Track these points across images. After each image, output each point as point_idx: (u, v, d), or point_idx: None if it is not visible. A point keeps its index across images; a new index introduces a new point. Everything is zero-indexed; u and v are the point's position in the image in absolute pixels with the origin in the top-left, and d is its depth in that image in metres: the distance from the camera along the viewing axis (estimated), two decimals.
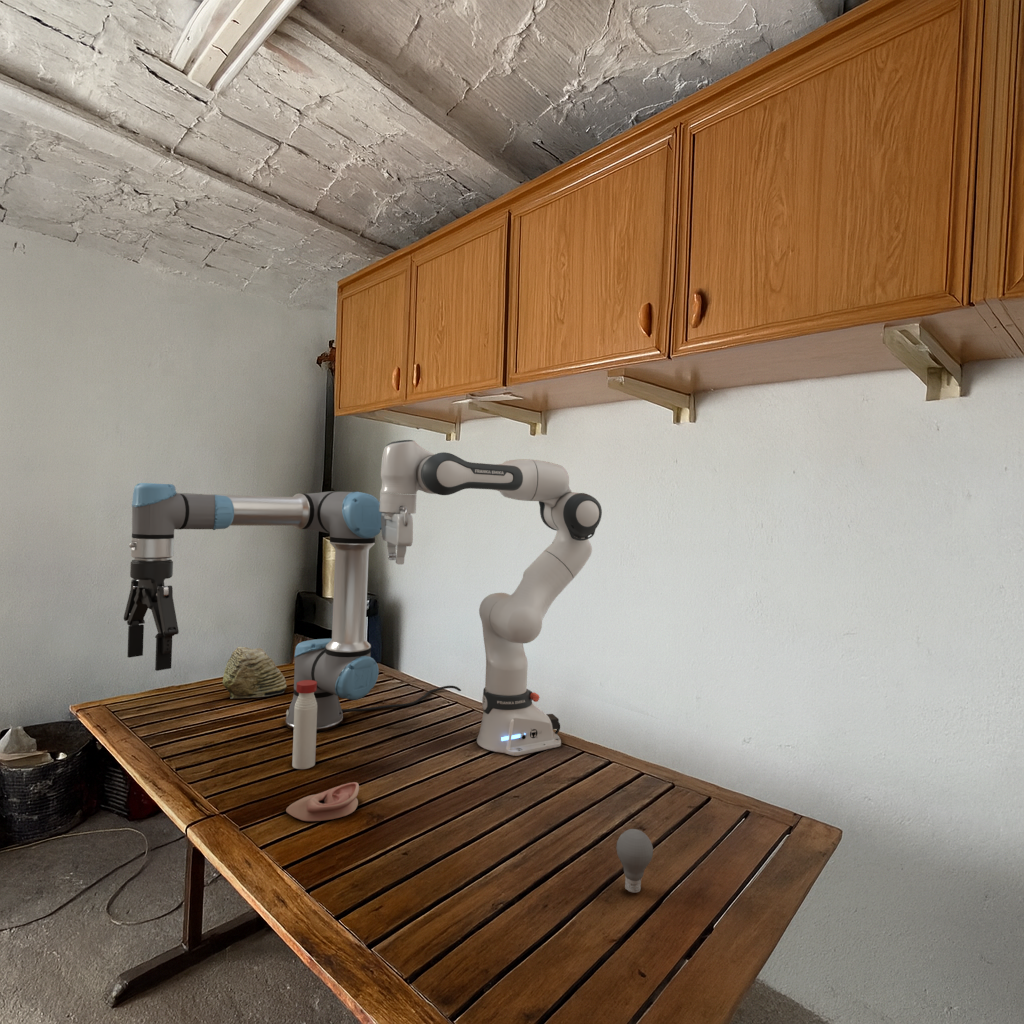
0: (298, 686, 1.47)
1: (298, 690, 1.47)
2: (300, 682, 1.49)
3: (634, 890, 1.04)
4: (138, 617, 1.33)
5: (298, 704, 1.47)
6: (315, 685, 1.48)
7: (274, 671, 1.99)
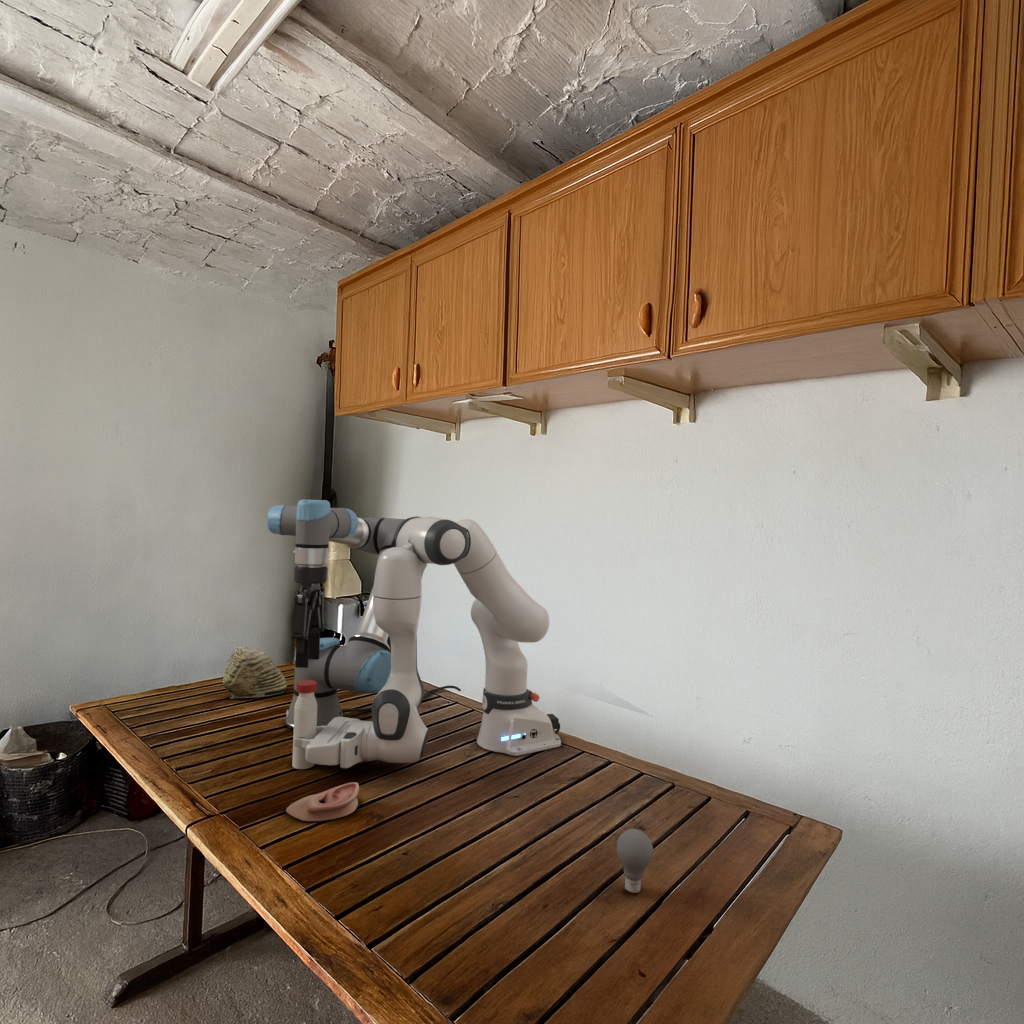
0: (298, 686, 1.47)
1: (298, 690, 1.47)
2: (300, 682, 1.49)
3: (634, 890, 1.04)
4: (314, 622, 1.52)
5: (298, 704, 1.47)
6: (315, 685, 1.48)
7: (274, 671, 1.99)
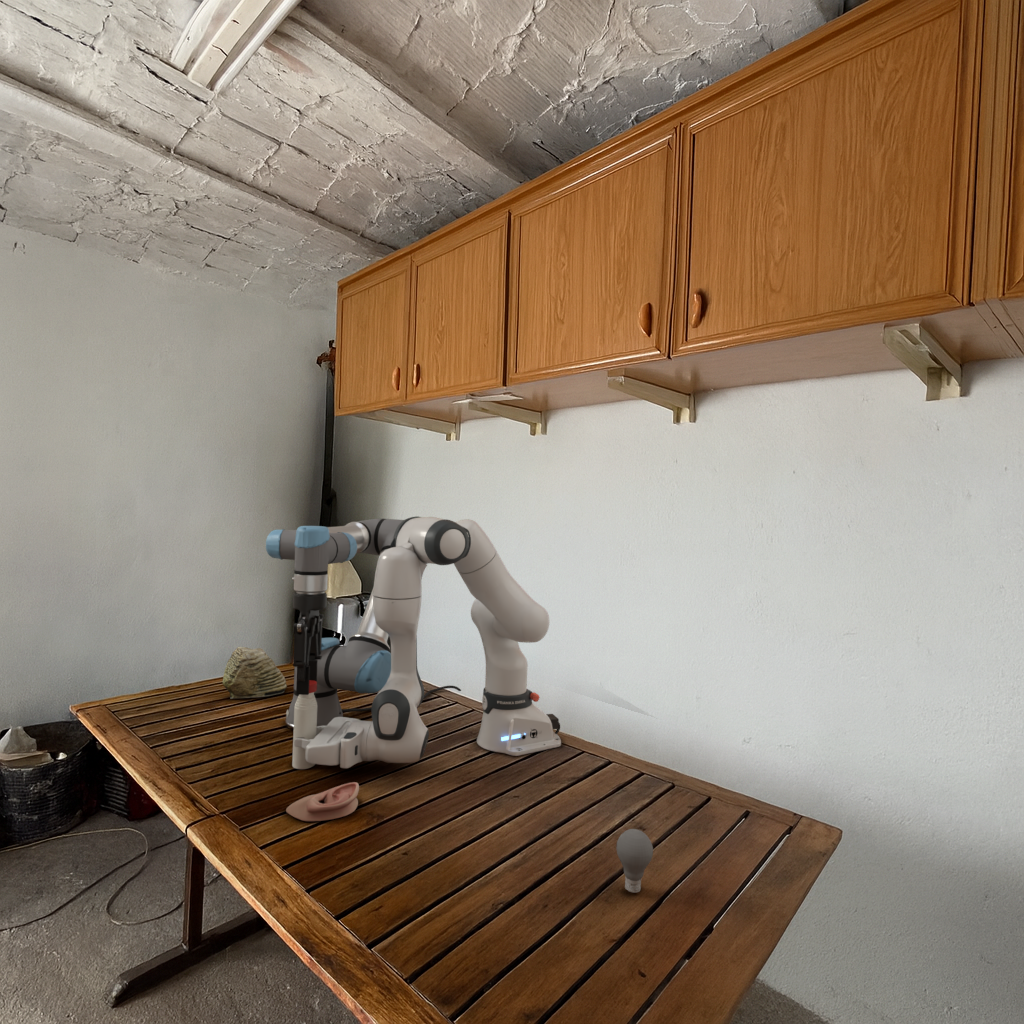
0: None
1: None
2: None
3: (634, 890, 1.04)
4: (311, 650, 1.51)
5: (298, 704, 1.47)
6: (315, 685, 1.48)
7: (274, 671, 1.99)
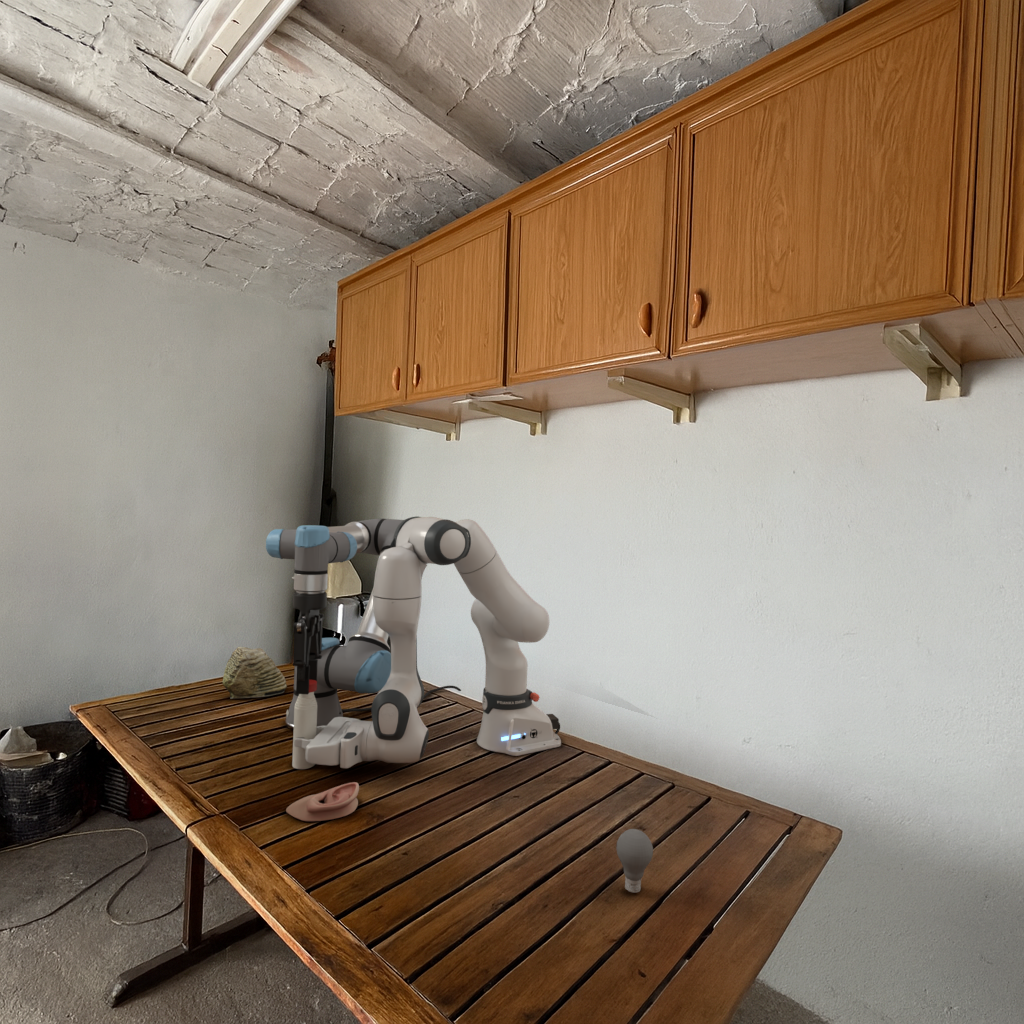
0: (315, 684, 1.48)
1: (315, 688, 1.48)
2: None
3: (634, 890, 1.04)
4: (312, 649, 1.51)
5: (298, 704, 1.47)
6: None
7: (274, 671, 1.99)
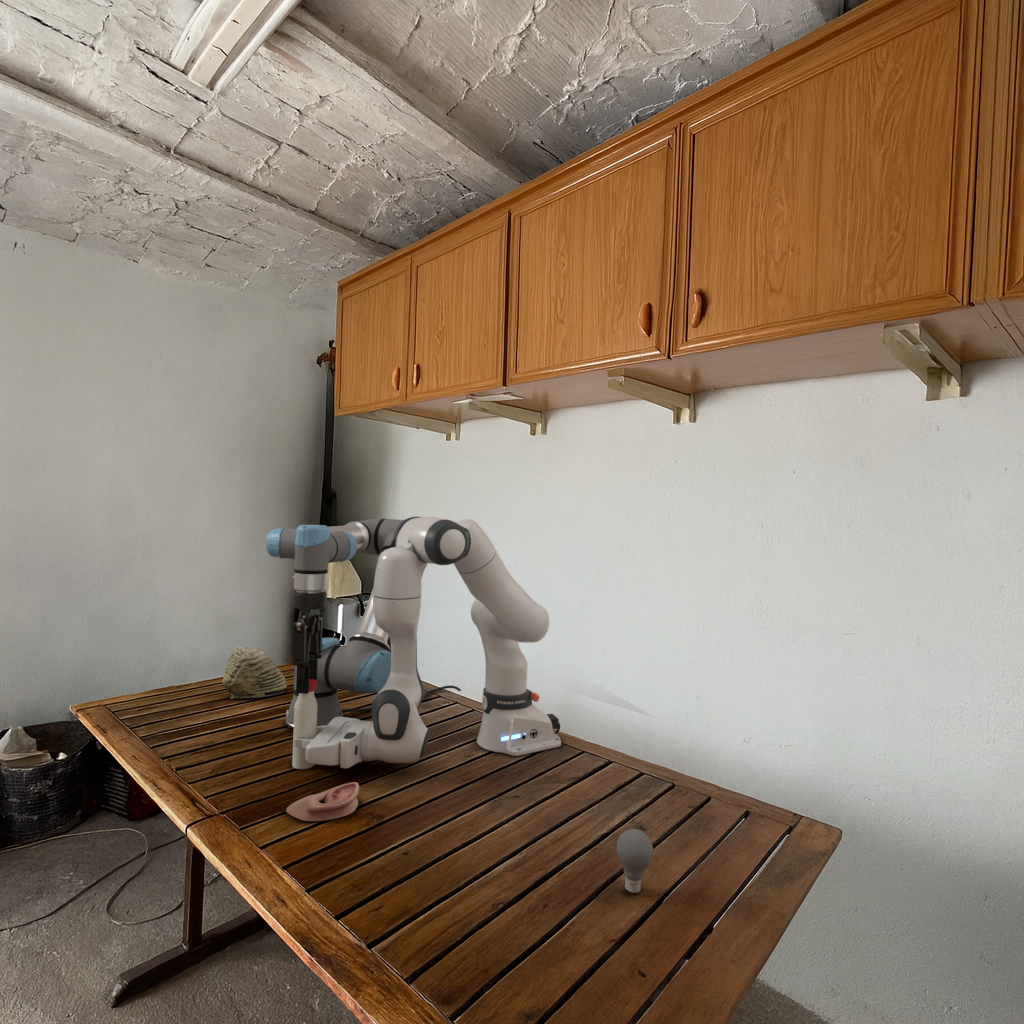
0: None
1: None
2: (312, 680, 1.50)
3: (634, 890, 1.04)
4: (312, 649, 1.51)
5: (298, 704, 1.47)
6: None
7: (274, 671, 1.99)
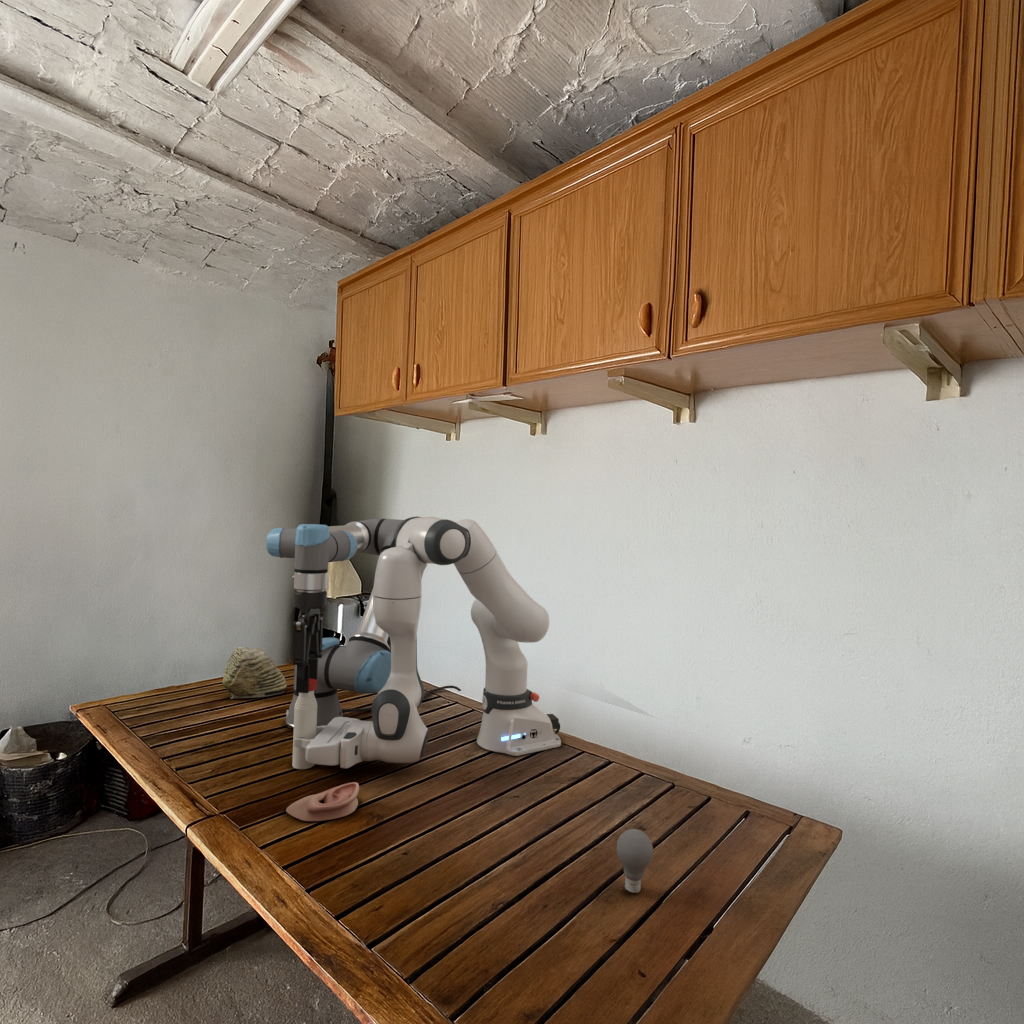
0: None
1: None
2: None
3: (634, 890, 1.04)
4: (312, 648, 1.51)
5: (298, 704, 1.47)
6: (313, 684, 1.48)
7: (274, 671, 1.99)
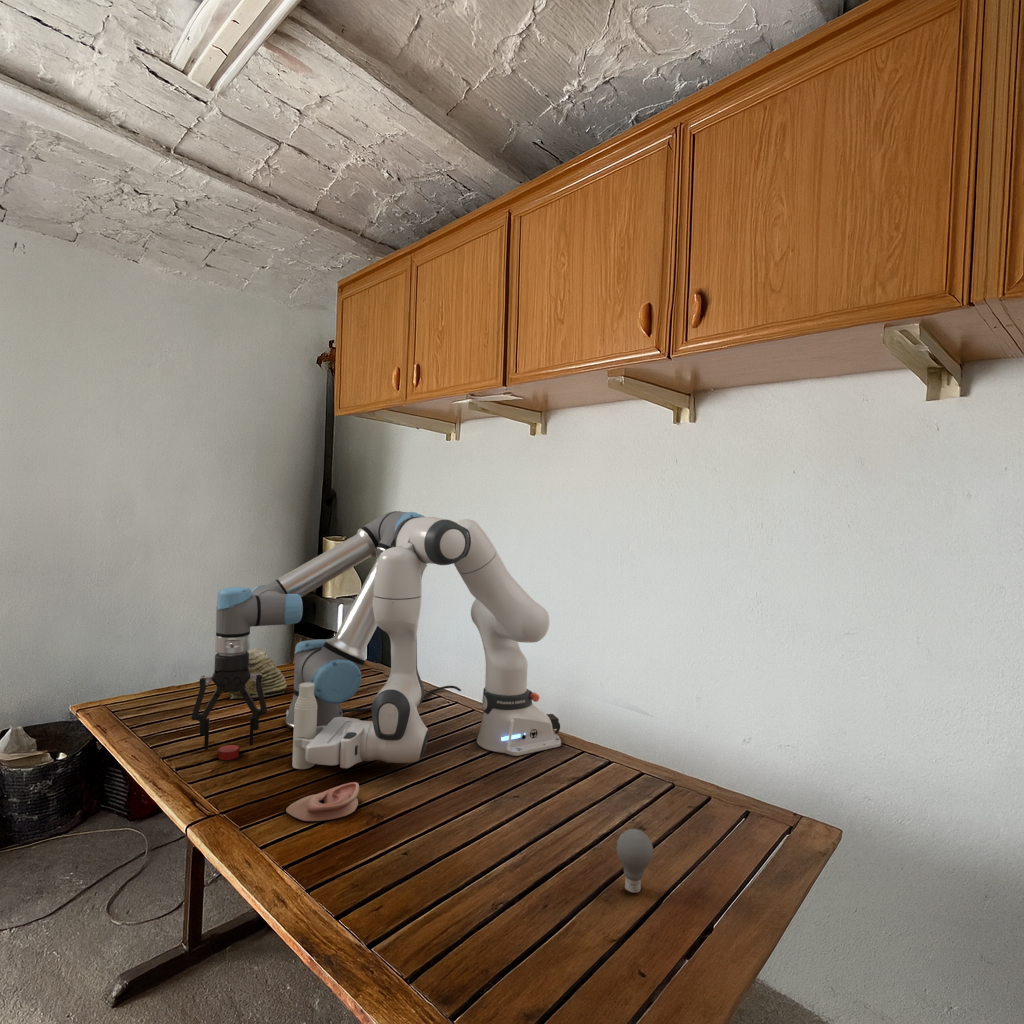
0: (235, 752, 1.51)
1: (235, 756, 1.51)
2: (227, 751, 1.51)
3: (634, 890, 1.04)
4: None
5: (298, 704, 1.47)
6: None
7: (274, 671, 1.99)
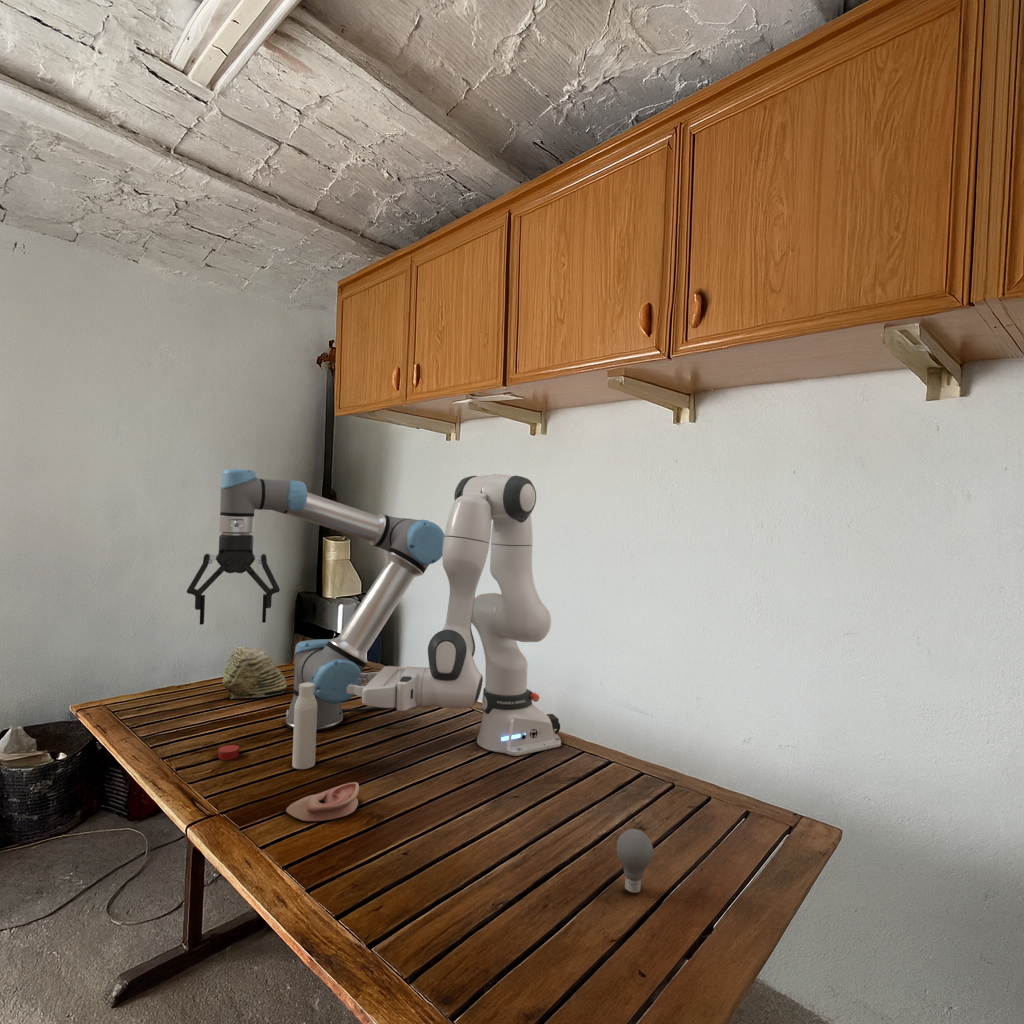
0: (235, 752, 1.51)
1: (235, 756, 1.51)
2: (227, 751, 1.51)
3: (634, 890, 1.04)
4: None
5: (298, 704, 1.47)
6: None
7: (274, 671, 1.99)
